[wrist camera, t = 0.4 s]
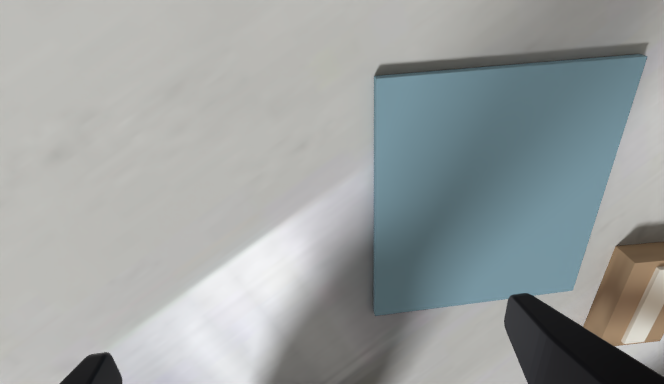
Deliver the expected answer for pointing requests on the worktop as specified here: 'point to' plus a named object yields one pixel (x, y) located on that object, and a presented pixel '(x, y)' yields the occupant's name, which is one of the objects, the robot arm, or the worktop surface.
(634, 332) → the brown cardboard box
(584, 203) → the mat
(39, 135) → the worktop surface
